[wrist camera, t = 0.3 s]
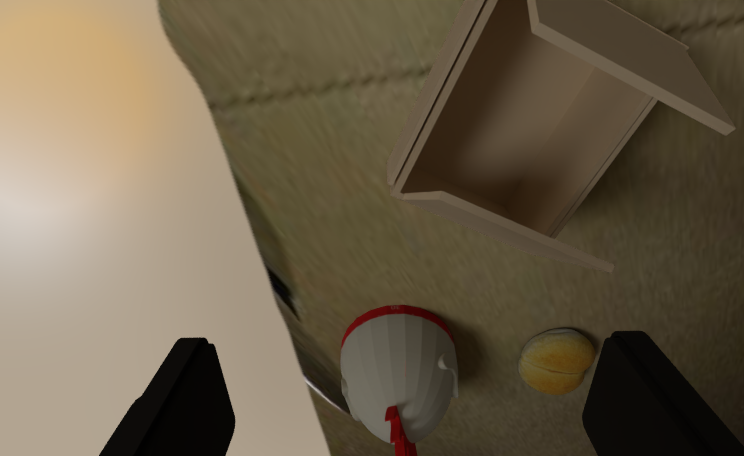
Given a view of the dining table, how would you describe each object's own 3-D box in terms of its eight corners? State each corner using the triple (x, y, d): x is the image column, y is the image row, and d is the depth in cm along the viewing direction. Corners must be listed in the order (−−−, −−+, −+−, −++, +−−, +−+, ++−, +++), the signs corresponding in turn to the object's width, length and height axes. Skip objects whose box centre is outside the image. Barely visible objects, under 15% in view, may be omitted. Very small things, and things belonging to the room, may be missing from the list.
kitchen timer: (364, 399, 54) (359, 523, 40) (323, 323, 48) (302, 439, 34) (466, 374, 51) (496, 497, 38) (436, 291, 45) (459, 402, 32)
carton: (473, -37, 31) (506, -58, 23) (621, 45, 34) (697, 52, 26) (382, 157, 38) (383, 192, 30) (510, 212, 41) (542, 259, 33)
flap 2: (527, -43, 23) (539, 22, 18) (682, 45, 25) (736, 128, 20) (522, -34, 23) (531, 32, 18) (675, 52, 25) (725, 135, 20)
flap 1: (404, 193, 30) (442, 190, 21) (533, 248, 32) (614, 265, 23) (402, 199, 30) (439, 199, 21) (531, 253, 32) (611, 273, 23)
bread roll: (598, 330, 48) (616, 355, 44) (567, 382, 52) (581, 409, 48) (533, 319, 47) (545, 343, 44) (506, 373, 51) (516, 399, 48)
